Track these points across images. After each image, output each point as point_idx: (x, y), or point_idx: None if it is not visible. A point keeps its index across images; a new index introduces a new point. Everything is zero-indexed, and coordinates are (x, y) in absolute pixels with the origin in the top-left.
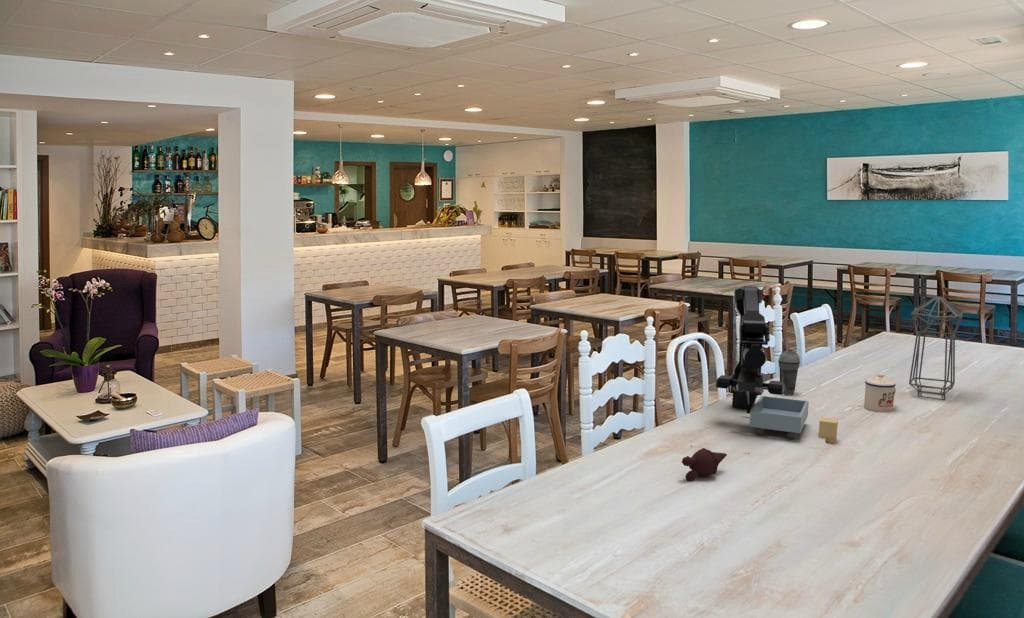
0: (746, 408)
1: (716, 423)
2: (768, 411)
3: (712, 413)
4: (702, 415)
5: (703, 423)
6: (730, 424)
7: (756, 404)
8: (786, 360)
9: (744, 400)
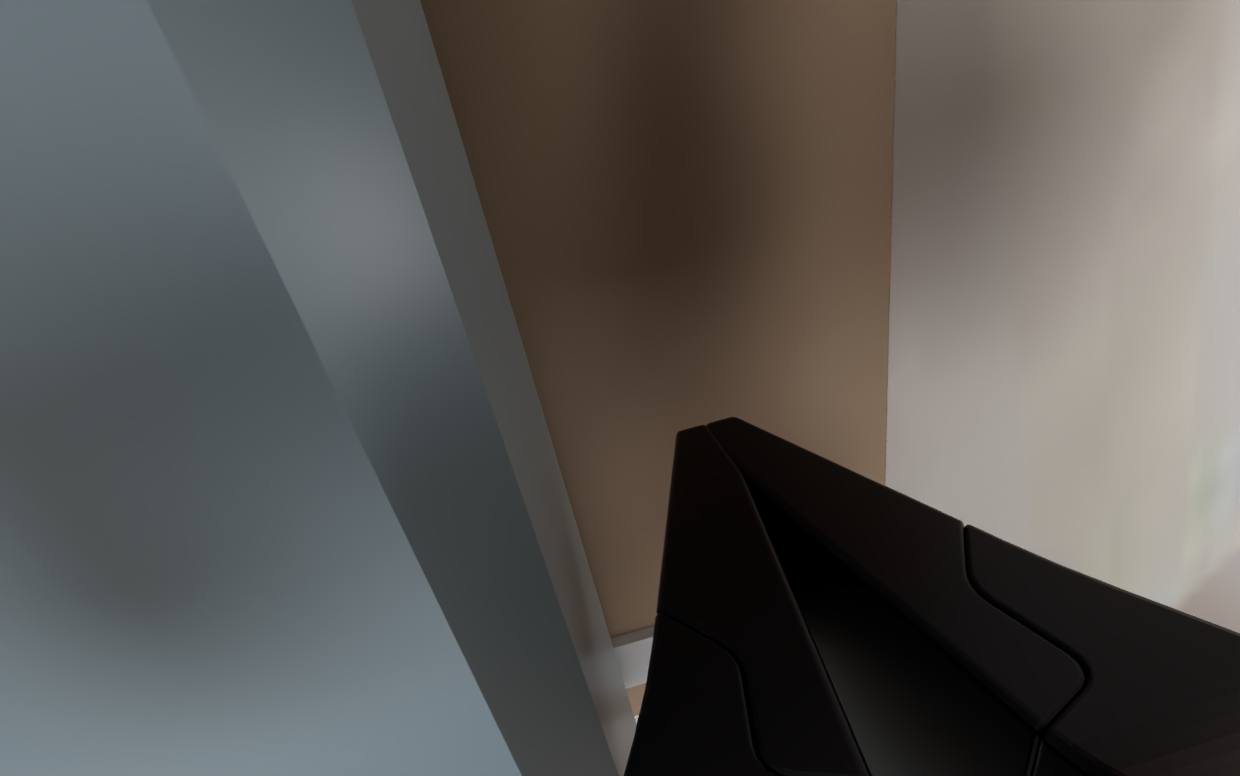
0: (790, 457)
1: (1054, 295)
2: (469, 770)
3: (1103, 579)
4: (1202, 464)
5: (1216, 177)
6: (888, 373)
7: (515, 617)
8: None
9: (1016, 579)
